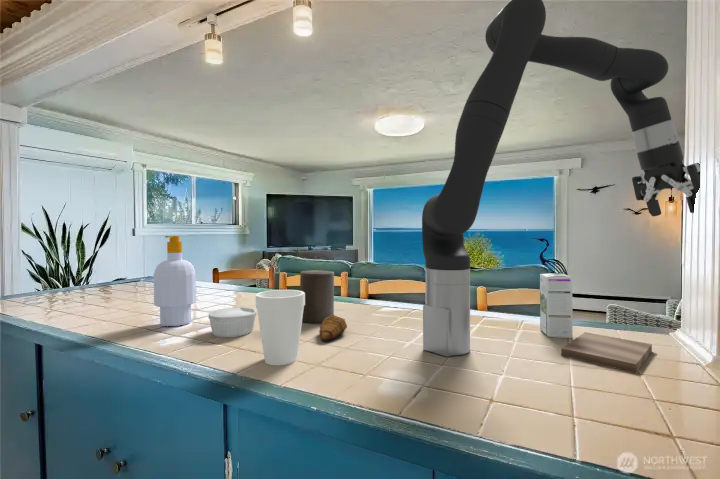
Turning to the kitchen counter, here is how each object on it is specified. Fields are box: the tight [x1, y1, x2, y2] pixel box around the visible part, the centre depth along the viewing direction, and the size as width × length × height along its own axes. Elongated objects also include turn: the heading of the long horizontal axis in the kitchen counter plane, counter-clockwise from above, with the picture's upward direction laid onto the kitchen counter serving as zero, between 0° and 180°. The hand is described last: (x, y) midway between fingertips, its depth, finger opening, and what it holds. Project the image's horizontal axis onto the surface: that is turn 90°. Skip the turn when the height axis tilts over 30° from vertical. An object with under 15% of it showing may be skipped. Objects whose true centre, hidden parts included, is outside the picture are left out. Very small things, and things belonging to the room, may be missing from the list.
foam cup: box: [255, 289, 305, 366], centre depth 69 cm, size 10×9×13 cm
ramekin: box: [207, 307, 257, 338], centre depth 89 cm, size 11×11×5 cm
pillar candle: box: [299, 266, 335, 325], centre depth 101 cm, size 10×10×15 cm
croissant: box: [318, 314, 348, 342], centre depth 86 cm, size 14×7×5 cm, turn 167°
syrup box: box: [539, 272, 574, 339], centre depth 85 cm, size 6×6×14 cm
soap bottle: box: [153, 235, 197, 328], centre depth 97 cm, size 10×10×24 cm
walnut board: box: [560, 331, 653, 374], centre depth 72 cm, size 16×12×2 cm
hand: (675, 213), depth 81 cm, fingers open, 8 cm apart
